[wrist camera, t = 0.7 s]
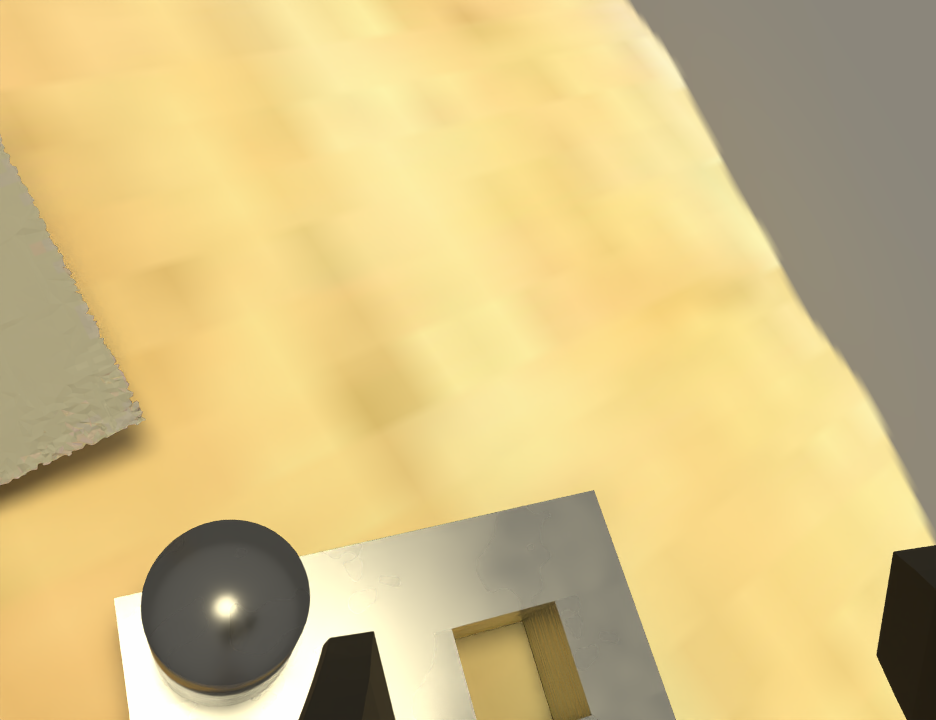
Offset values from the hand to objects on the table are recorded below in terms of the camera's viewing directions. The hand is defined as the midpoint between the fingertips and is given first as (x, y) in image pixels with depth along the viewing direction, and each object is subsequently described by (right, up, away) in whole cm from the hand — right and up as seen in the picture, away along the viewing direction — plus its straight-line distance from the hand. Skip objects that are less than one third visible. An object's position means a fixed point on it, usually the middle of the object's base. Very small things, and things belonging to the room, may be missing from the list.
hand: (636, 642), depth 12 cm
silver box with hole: (-4, -6, +14) cm, 16 cm away
